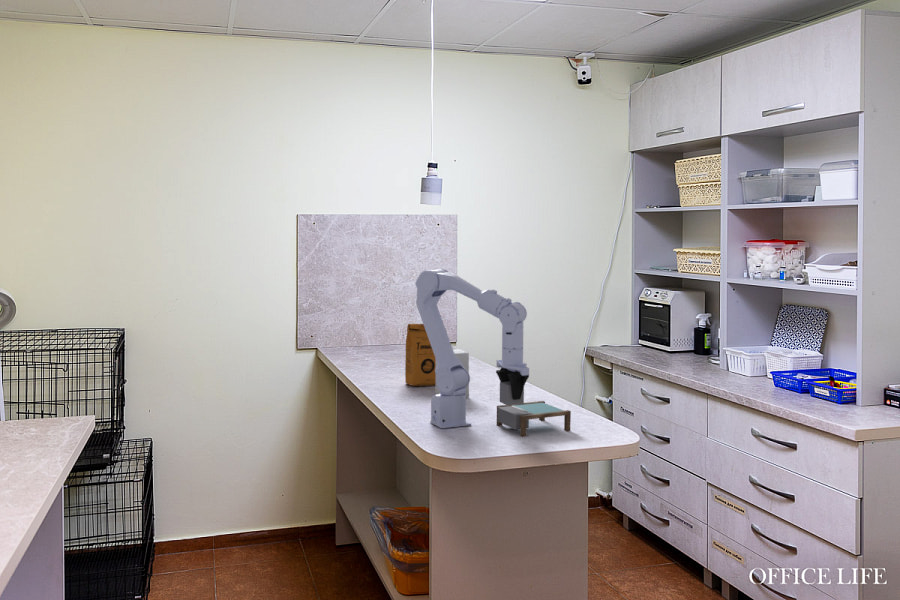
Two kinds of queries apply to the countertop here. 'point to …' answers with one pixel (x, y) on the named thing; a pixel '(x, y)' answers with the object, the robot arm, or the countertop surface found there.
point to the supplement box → (464, 359)
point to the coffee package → (419, 357)
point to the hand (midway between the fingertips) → (512, 397)
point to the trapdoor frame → (541, 417)
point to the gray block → (509, 394)
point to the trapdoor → (522, 413)
